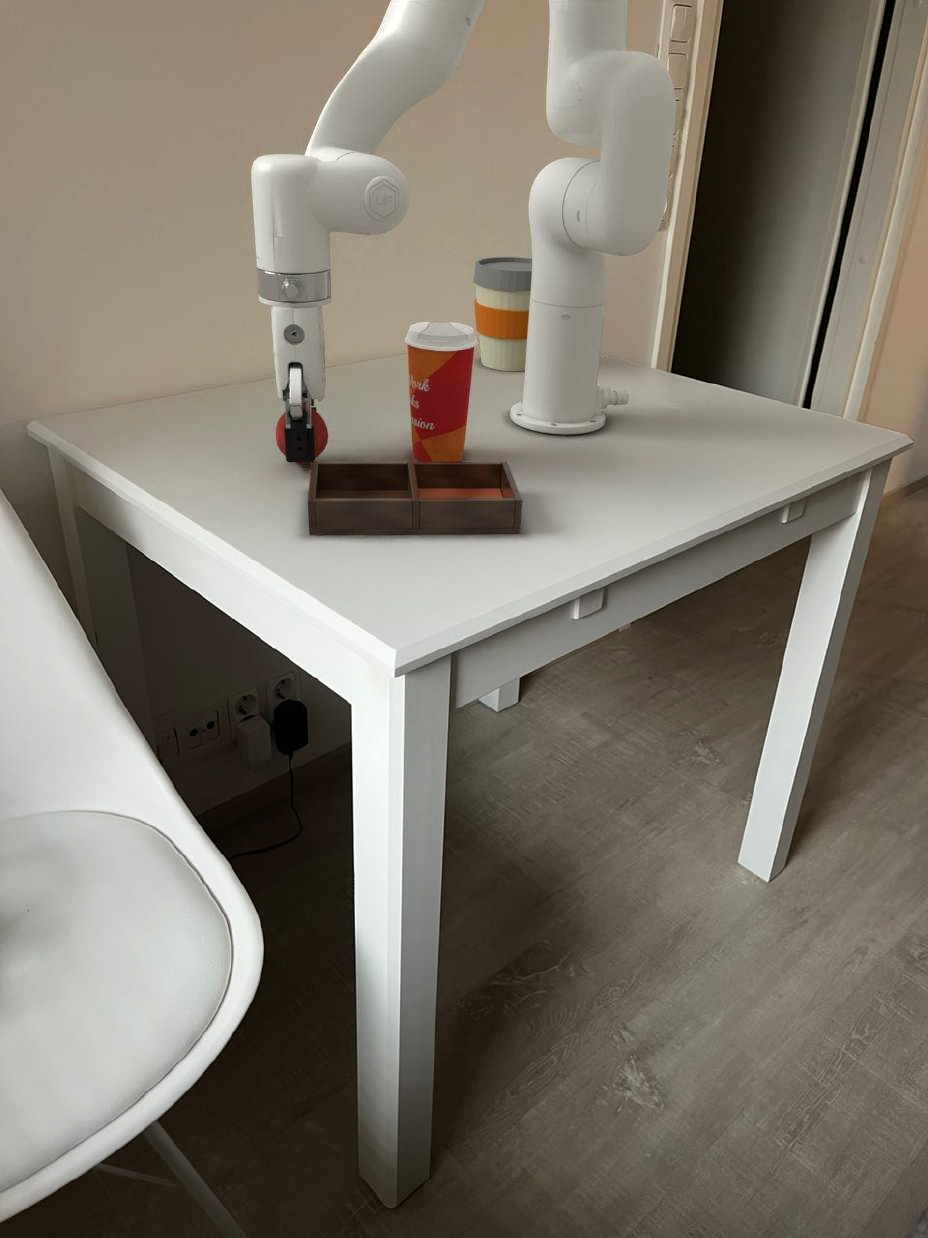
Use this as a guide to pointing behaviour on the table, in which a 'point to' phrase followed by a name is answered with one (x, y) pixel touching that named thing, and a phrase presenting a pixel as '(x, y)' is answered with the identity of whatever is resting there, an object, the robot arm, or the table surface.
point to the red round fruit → (319, 430)
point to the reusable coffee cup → (503, 310)
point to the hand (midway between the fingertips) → (302, 449)
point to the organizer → (412, 498)
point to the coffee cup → (439, 388)
